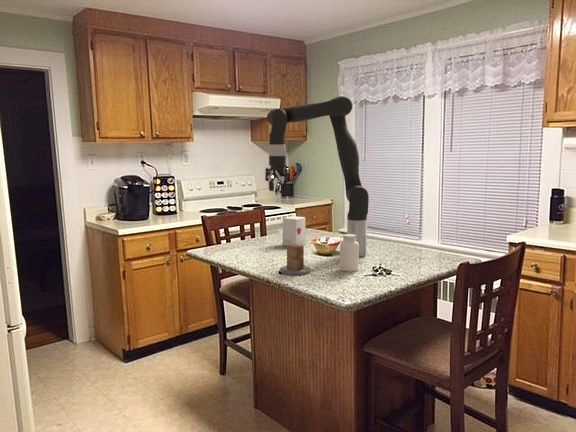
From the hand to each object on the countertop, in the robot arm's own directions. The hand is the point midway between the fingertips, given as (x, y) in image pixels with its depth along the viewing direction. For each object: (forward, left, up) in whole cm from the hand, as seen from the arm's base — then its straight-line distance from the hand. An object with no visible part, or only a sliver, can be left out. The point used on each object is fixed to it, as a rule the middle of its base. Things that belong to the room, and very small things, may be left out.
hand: (277, 191), depth 215 cm
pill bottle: (-33, +9, -32) cm, 47 cm away
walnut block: (-11, +16, -31) cm, 37 cm away
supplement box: (0, -36, -32) cm, 48 cm away
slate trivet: (-11, +16, -32) cm, 38 cm away
